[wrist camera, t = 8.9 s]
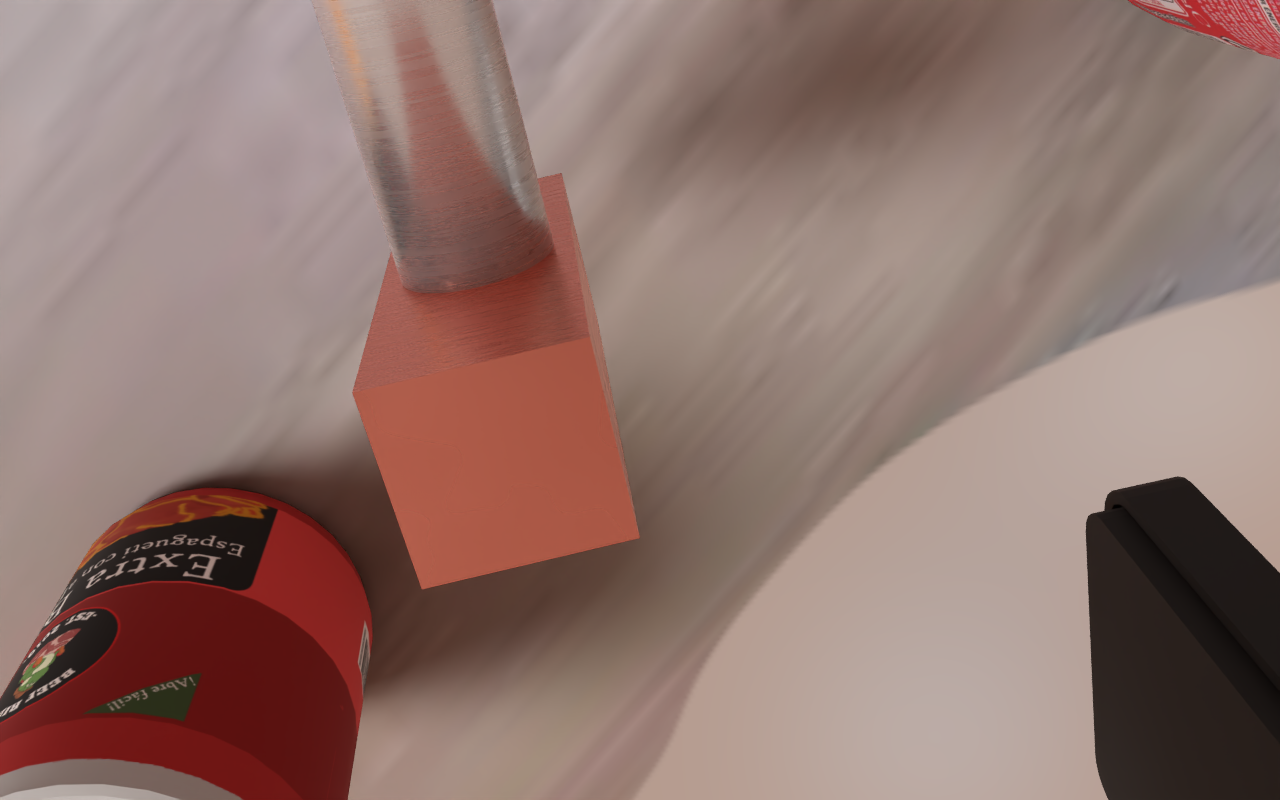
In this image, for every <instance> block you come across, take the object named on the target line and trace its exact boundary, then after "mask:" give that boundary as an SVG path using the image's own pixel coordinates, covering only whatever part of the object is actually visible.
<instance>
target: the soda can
mask: <svg viewBox="0 0 1280 800" xmlns="http://www.w3.org/2000/svg"><path fill="white" fill-rule="evenodd" d="M1128 1H1129V2H1131V3H1132V4H1133V5H1135V6H1137V7H1139V8H1141V9H1143V10H1145V11H1146V12H1148V13H1150V14H1152V15H1154V16H1156V17H1158V18H1160V19H1162V20H1164V21H1166V22H1168V23H1170V24H1172V25H1174V26H1176V27H1178V28H1180V29H1182V30H1185V31H1187V32H1190V33H1193V34H1196V35H1199V36H1203V37H1206V38H1209V39H1212V40H1216V41H1219V42H1222V43H1225V44H1229V45H1232V46H1236V47H1239V48H1243V49H1246V50H1250V51H1253V52H1257V53H1260V54H1263V55H1267V56H1270V57H1274V58H1278V59H1280V0H1128Z"/></svg>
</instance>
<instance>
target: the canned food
mask: <svg viewBox="0 0 1280 800" xmlns="http://www.w3.org/2000/svg"><path fill="white" fill-rule="evenodd" d="M372 640H373V634H372V615H371V611H370V608H369V604H368V601H367V597H366V594H365V590H364V587H363V585H362V582H361V579H360V576H359V574H358V572H357V570H356V568H355V567H354V565H353V563H352V561H351V559H350V557H349V555H348V554H347V553H346V551H345V550H344V549H343V548H342V547H341V545H340V544H339V543H338V542H337V540H336V539H335V538H334V537H333V536H332V534H330V533H329V532H328V531H327V530H326V529H324V528H323V527H322V526H321V525H320V524H318V523H317V522H316V521H315V520H314V519H312V518H311V517H310V516H308V515H306V514H304V513H303V512H301V511H299V510H297V509H296V508H294V507H292V506H290V505H289V504H287V503H284V502H281V501H279V500H276V499H273V498H271V497H268V496H265V495H262V494H259V493H254V492H249V491H243V490H238V489H233V488H199V489H193V490H187V491H180V492H175V493H172V494H170V495H167V496H164V497H161V498H159V499H156V500H153V501H150V502H149V503H147V504H145V505H144V506H142V507H141V508H139V509H137V510H136V511H134V512H132V513H131V514H129V515H127V516H126V517H124V518H123V519H121V520H119V521H118V522H116V523H114V524H113V525H112V526H111V527H110V528H109V529H108V530H107V531H106V532H105V533H103V534H102V535H101V536H100V537H99V538H98V539H97V540H96V541H95V542H94V543H93V545H92V546H91V548H90V550H89V551H88V553H87V554H86V556H85V558H84V559H83V561H82V562H81V564H80V566H79V567H78V569H77V571H76V572H75V574H74V576H73V577H72V579H71V581H70V582H69V584H68V586H67V587H66V589H65V591H64V592H63V594H62V596H61V597H60V599H59V601H58V602H57V604H56V606H55V607H54V609H53V611H52V613H51V614H50V616H49V618H48V619H47V621H46V623H45V624H44V626H43V628H42V629H41V631H40V633H39V634H38V636H37V638H36V639H35V641H34V643H33V644H32V646H31V648H30V649H29V651H28V653H27V654H26V656H25V658H24V660H23V661H22V663H21V665H20V666H19V668H18V670H17V671H16V673H15V675H14V676H13V678H12V680H11V681H10V683H9V685H8V686H7V688H6V690H5V691H4V693H3V695H2V696H1V698H0V800H348V793H349V787H350V781H351V774H352V768H353V761H354V755H355V749H356V742H357V736H358V730H359V723H360V717H361V710H362V704H363V698H364V691H365V685H366V678H367V672H368V666H369V659H370V653H371V647H372Z"/></svg>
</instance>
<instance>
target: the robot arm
mask: <svg viewBox="0 0 1280 800" xmlns="http://www.w3.org/2000/svg"><path fill="white" fill-rule="evenodd" d="M1086 543H1087V544H1086V546H1087V569H1088V593H1089V616H1090V638H1091V663H1092V685H1093V710H1094V732H1095V755H1096V763H1097V768H1098V772H1099V776H1100V779H1101V782H1102V785H1103V788H1104V790H1105V793H1106V795H1107V798H1108V799H1109V800H1280V573H1279V572H1278V571H1277V570H1276V569H1275V568H1274V567H1273V566H1272V565H1271V564H1270V563H1269V562H1268V561H1267V560H1266V559H1265V558H1264V556H1263V555H1262V554H1261V553H1260V552H1259V551H1258V550H1257V549H1256V548H1255V547H1254V546H1253V545H1252V544H1251V543H1250V542H1249V541H1248V540H1247V539H1246V538H1245V537H1244V536H1243V535H1242V534H1241V533H1240V532H1239V531H1238V530H1237V529H1236V528H1235V527H1234V526H1233V525H1232V524H1231V523H1230V522H1229V521H1228V520H1227V519H1226V517H1224V515H1223V514H1221V512H1220V511H1219V510H1218V509H1217V508H1216V507H1215V506H1214V505H1213V504H1212V503H1211V502H1210V501H1209V500H1208V499H1207V498H1206V497H1205V496H1204V495H1203V494H1202V493H1201V492H1200V491H1199V490H1198V489H1197V488H1196V487H1195V486H1194V485H1193V484H1192V483H1191V482H1190V481H1188V480H1187V479H1186V478H1183V477H1173V478H1169V479H1164V480H1160V481H1155V482H1150V483H1146V484H1142V485H1136V486H1132V487H1128V488H1123V489H1118V490H1114V491H1112V492H1110V493H1109V494H1108V495H1107V498H1106V501H1105V511H1103V512H1097V513H1093V514H1091V515H1089V516H1088V519H1087V522H1086Z"/></svg>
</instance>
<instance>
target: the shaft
mask: <svg viewBox="0 0 1280 800" xmlns="http://www.w3.org/2000/svg"><path fill="white" fill-rule="evenodd" d="M312 3H313V6H314V10H315V13H316V16H317V19H318V22H319V25H320V28H321V32H322V35H323V38H324V41H325V44H326V47H327V50H328V54H329V57H330V60H331V63H332V66H333V69H334V72H335V76H336V79H337V82H338V85H339V88H340V91H341V94H342V98H343V101H344V104H345V107H346V110H347V113H348V116H349V120H350V123H351V126H352V129H353V132H354V135H355V138H356V142H357V145H358V148H359V151H360V154H361V157H362V160H363V164H364V167H365V170H366V173H367V176H368V179H369V182H370V186H371V189H372V192H373V195H374V198H375V201H376V204H377V208H378V211H379V214H380V217H381V220H382V223H383V226H384V230H385V233H386V236H387V239H388V242H389V245H390V248H391V254H390V258H389V261H388V265H387V269H386V272H385V276H384V279H383V283H382V287H381V290H380V294H379V298H378V301H377V305H376V309H375V312H374V316H373V319H372V323H371V327H370V330H369V334H368V338H367V341H366V345H365V349H364V352H363V356H362V359H361V363H360V367H359V370H358V374H357V378H356V381H355V385H354V389H353V392H352V393H353V396H354V399H355V402H356V404H357V407H358V410H359V413H360V416H361V419H362V421H363V424H364V427H365V430H366V433H367V435H368V438H369V441H370V444H371V447H372V450H373V452H374V455H375V458H376V461H377V464H378V467H379V469H380V472H381V475H382V478H383V481H384V484H385V486H386V489H387V492H388V495H389V498H390V501H391V503H392V506H393V509H394V512H395V515H396V518H397V520H398V523H399V526H400V529H401V532H402V535H403V537H404V540H405V543H406V546H407V549H408V552H409V554H410V557H411V560H412V563H413V566H414V569H415V571H416V574H417V577H418V580H419V583H420V585H421V588H422V589H426V588H430V587H435V586H439V585H443V584H447V583H452V582H456V581H460V580H464V579H468V578H473V577H477V576H481V575H485V574H490V573H494V572H498V571H502V570H507V569H511V568H515V567H519V566H524V565H528V564H532V563H536V562H541V561H545V560H549V559H553V558H557V557H562V556H566V555H570V554H574V553H579V552H583V551H587V550H591V549H596V548H600V547H604V546H608V545H613V544H617V543H621V542H625V541H630V540H634V539H638V538H640V536H639V531H638V526H637V521H636V516H635V511H634V505H633V500H632V495H631V490H630V485H629V480H628V475H627V470H626V464H625V459H624V454H623V449H622V444H621V439H620V434H619V428H618V423H617V418H616V413H615V408H614V403H613V398H612V393H611V387H610V382H609V377H608V372H607V367H606V362H605V357H604V351H603V346H602V341H601V336H600V331H599V326H598V321H597V317H596V312H595V308H594V304H593V300H592V296H591V292H590V288H589V284H588V280H587V276H586V271H585V267H584V263H583V259H582V255H581V251H580V247H579V243H578V239H577V234H576V230H575V226H574V222H573V218H572V214H571V210H570V206H569V202H568V198H567V193H566V189H565V185H564V181H563V177H562V173H560V174H555V175H551V176H547V177H543V178H538V179H537V175H536V171H535V167H534V163H533V159H532V155H531V151H530V147H529V143H528V139H527V135H526V131H525V127H524V123H523V119H522V115H521V111H520V107H519V104H518V100H517V96H516V92H515V88H514V84H513V80H512V76H511V72H510V68H509V64H508V60H507V56H506V52H505V48H504V44H503V40H502V36H501V32H500V29H499V25H498V21H497V17H496V13H495V9H494V5H493V1H492V0H312Z"/></svg>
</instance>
